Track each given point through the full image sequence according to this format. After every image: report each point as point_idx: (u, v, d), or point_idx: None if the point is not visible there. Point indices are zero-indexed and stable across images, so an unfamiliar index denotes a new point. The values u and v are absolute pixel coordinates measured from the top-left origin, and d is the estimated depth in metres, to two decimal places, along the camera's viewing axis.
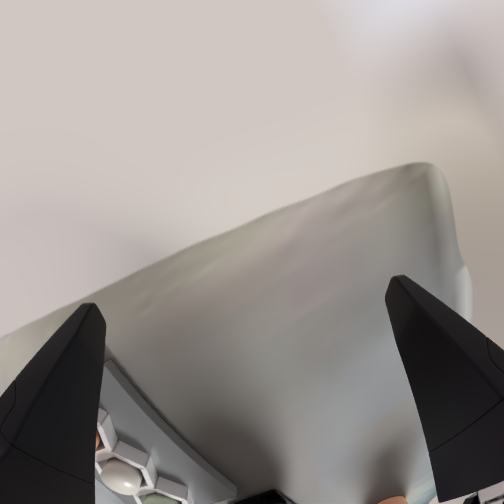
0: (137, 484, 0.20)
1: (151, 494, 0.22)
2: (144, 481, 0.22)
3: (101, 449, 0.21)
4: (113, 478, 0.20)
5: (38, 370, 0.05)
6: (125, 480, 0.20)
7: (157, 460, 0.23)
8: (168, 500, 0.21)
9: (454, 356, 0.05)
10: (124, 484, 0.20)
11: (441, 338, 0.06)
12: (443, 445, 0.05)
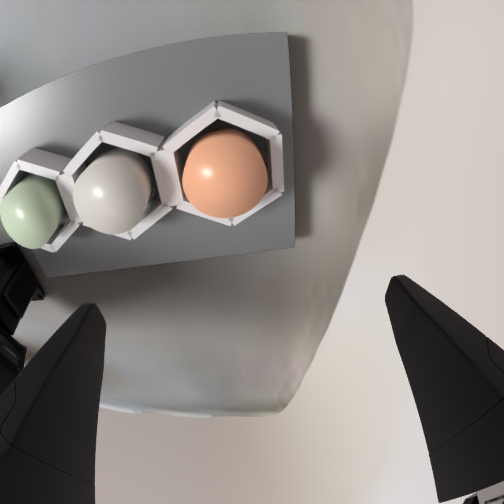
0: None
1: (60, 203, 0.15)
2: None
3: (180, 187, 0.15)
4: (121, 199, 0.14)
5: (38, 370, 0.05)
6: (115, 220, 0.14)
7: None
8: None
9: (454, 356, 0.05)
10: (104, 211, 0.14)
11: (441, 338, 0.06)
12: (443, 445, 0.05)
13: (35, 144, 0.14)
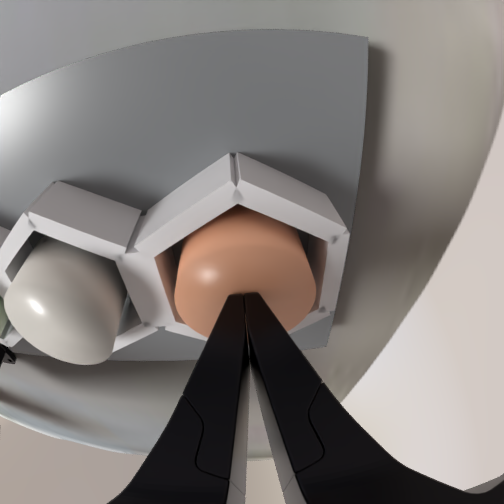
0: None
1: (2, 298, 0.09)
2: None
3: (169, 304, 0.09)
4: (74, 331, 0.08)
5: (218, 377, 0.05)
6: (74, 351, 0.08)
7: None
8: (1, 332, 0.09)
9: (268, 399, 0.05)
10: (55, 339, 0.08)
11: None
12: (284, 491, 0.05)
13: None
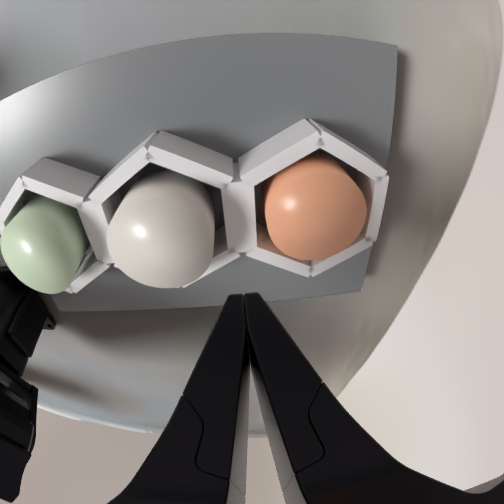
0: None
1: (83, 237, 0.12)
2: None
3: (255, 230, 0.12)
4: (179, 247, 0.10)
5: (218, 377, 0.05)
6: (167, 272, 0.11)
7: None
8: None
9: (268, 399, 0.05)
10: (153, 260, 0.11)
11: None
12: (284, 491, 0.05)
13: (47, 153, 0.11)
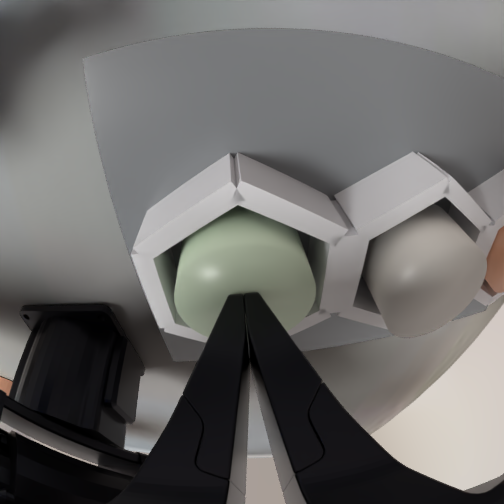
0: None
1: None
2: None
3: None
4: (456, 294, 0.08)
5: (218, 377, 0.05)
6: (429, 321, 0.09)
7: None
8: None
9: (268, 399, 0.05)
10: (427, 310, 0.08)
11: None
12: (284, 491, 0.05)
13: (245, 146, 0.08)
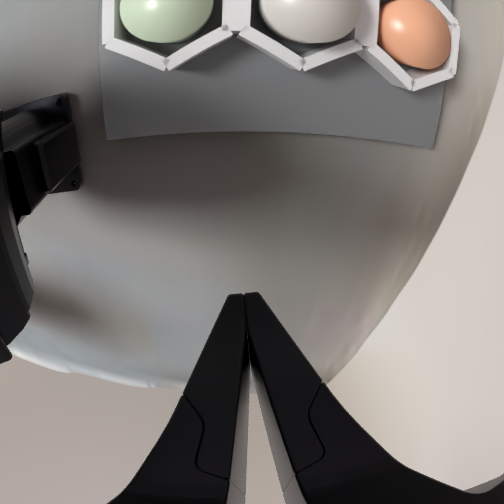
0: (290, 34, 0.09)
1: (213, 7, 0.10)
2: None
3: (376, 30, 0.10)
4: (333, 4, 0.08)
5: (218, 377, 0.05)
6: (316, 24, 0.09)
7: (272, 70, 0.13)
8: (187, 37, 0.10)
9: (268, 399, 0.05)
10: (306, 9, 0.09)
11: None
12: (284, 491, 0.05)
13: None
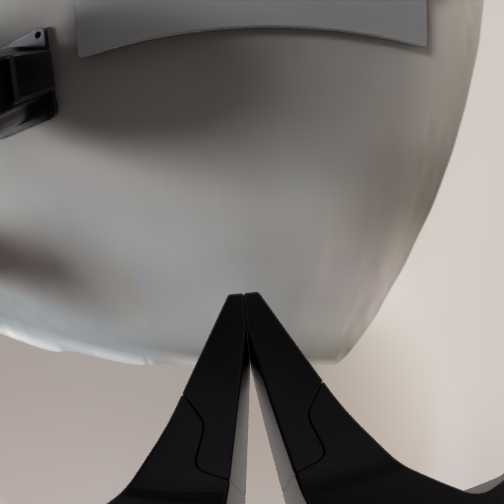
0: None
1: None
2: None
3: None
4: None
5: (218, 376, 0.05)
6: None
7: None
8: None
9: (268, 399, 0.05)
10: None
11: None
12: (284, 491, 0.05)
13: None
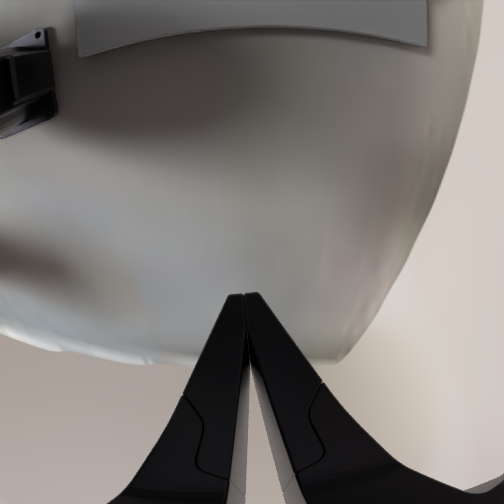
0: None
1: None
2: None
3: None
4: None
5: (218, 376, 0.05)
6: None
7: None
8: None
9: (268, 399, 0.05)
10: None
11: None
12: (284, 491, 0.05)
13: None
